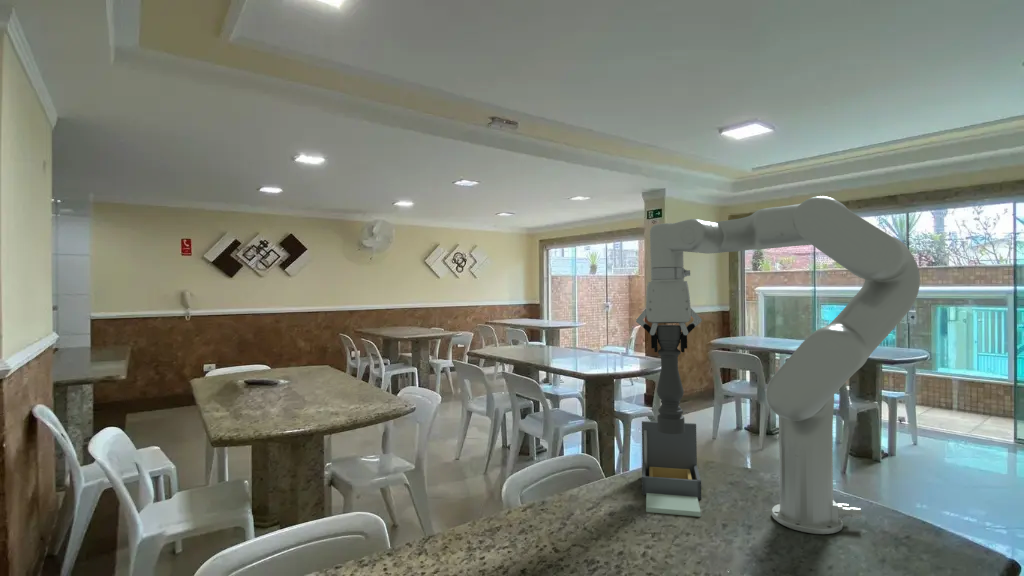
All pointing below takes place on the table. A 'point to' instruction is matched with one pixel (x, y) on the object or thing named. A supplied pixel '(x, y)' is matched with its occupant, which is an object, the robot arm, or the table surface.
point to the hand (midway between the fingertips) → (669, 350)
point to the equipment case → (670, 461)
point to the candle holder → (670, 381)
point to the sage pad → (672, 504)
